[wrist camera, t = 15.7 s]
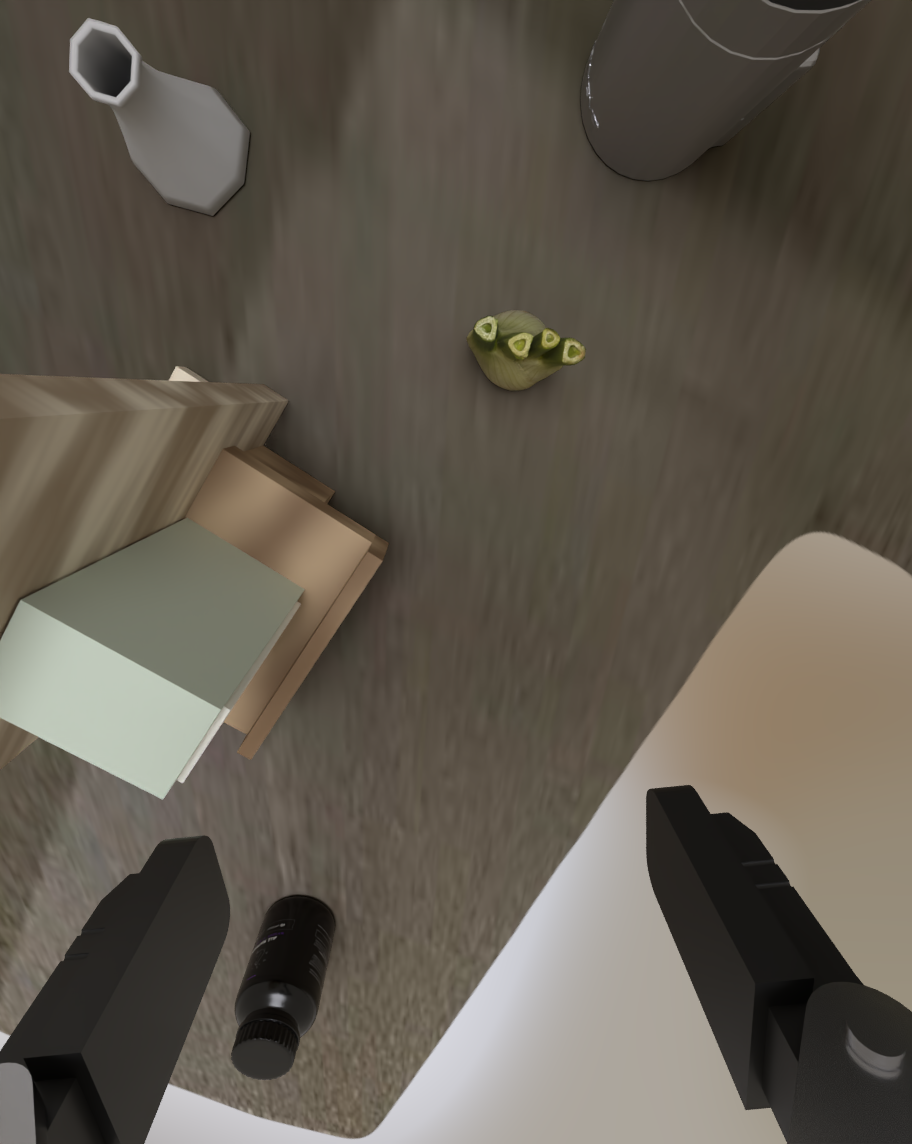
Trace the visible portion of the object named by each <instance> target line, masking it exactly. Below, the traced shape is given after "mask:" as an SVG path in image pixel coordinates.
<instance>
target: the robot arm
mask: <svg viewBox="0 0 912 1144" xmlns="http://www.w3.org/2000/svg"><path fill="white" fill-rule="evenodd" d="M870 1H871V0H614V1H613V3H612V6H611V8H610V10H609V13H608V15H607V17H606V19H605V22H604V24H603V26H602V29H601V31H600V33H599V36H598V38H597V40H596V41H595V43H594V45H593V48H592V51H591V54H590V57H589V59H588V62H587V64H586V67H585V71H584V76H583V80H582V85H581V102H580V103H581V112H582V120H583V124H584V127H585V130H586V134H587V137H588V139H589V141H590V143H591V145H592V146H593V148H594V150H595V152H596V153H597V154H598V156H599V157H600V158H601V159H602V160H603V161H604V162H605V164H606V165H608V166H609V167H610V168H612V169H613V170H615V171H616V172H617V173H619V174H621V175H624V176H626V177H629V178H632V179H637V180H645V181H650V180H658V179H664V178H666V177H669V176H672V175H675V174H677V173H679V172H680V171H682V170H683V169H685V168H687V167H688V166H690V165H691V164H692V163H693V162H694V161H696V160H697V159H698V158H699V157H700V156H701V155H702V154H703V153H704V152H705V151H707V150H708V149H709V148H711V147H714V146H722V145H724V144H725V143H727V142H728V141H729V140H730V139H731V138H732V137H733V136H735V135H736V134H737V133H738V132H739V131H740V130H741V129H743V128H744V127H745V126H746V125H747V124H748V123H749V122H751V121H752V120H753V119H754V118H755V117H756V116H757V115H759V114H760V113H761V112H762V111H763V110H764V109H765V108H767V107H768V106H769V105H770V104H771V103H772V102H773V101H775V100H776V99H777V98H778V97H779V96H780V95H781V94H782V93H784V92H785V91H786V90H787V89H788V88H789V87H790V86H792V85H793V84H794V83H795V82H796V81H797V80H798V79H800V78H801V77H802V76H803V75H804V74H805V73H806V72H808V71H809V70H810V69H811V68H812V67H813V65H814V64H815V63H816V61H817V59H818V56H819V51H820V47H821V46H822V45H823V44H824V43H825V42H826V41H828V40H829V39H830V38H831V37H832V36H833V35H834V34H835V33H836V32H837V31H839V30H840V29H841V28H842V27H843V26H844V25H845V24H846V23H847V22H848V21H849V20H850V19H851V18H852V17H853V16H854V15H856V14H857V13H858V12H859V11H860V10H861V9H862V8H863V7H864V6H865V5H867V4H868V3H869V2H870ZM646 852H647V853H646V854H647V865H648V871H649V876H650V880H651V884H652V887H653V890H654V893H655V895H656V898H657V901H658V903H659V905H660V908H661V910H662V913H663V915H664V917H665V920H666V922H667V924H668V927H669V929H670V932H671V934H672V936H673V939H674V941H675V943H676V946H677V948H678V951H679V953H680V955H681V958H682V960H683V962H684V965H685V967H686V970H687V972H688V974H689V976H690V979H691V981H692V984H693V986H694V989H695V991H696V993H697V996H698V998H699V1000H700V1003H701V1005H702V1008H703V1010H704V1012H705V1015H706V1017H707V1019H708V1022H709V1024H710V1026H711V1029H712V1031H713V1034H714V1036H715V1038H716V1040H717V1043H718V1045H719V1048H720V1050H721V1053H722V1055H723V1057H724V1060H725V1062H726V1064H727V1067H728V1069H729V1072H730V1074H731V1076H732V1079H733V1081H734V1083H735V1086H736V1088H737V1091H738V1093H739V1095H740V1098H741V1100H742V1102H743V1105H744V1107H745V1109H746V1110H751V1109H761V1108H771V1109H772V1111H773V1113H774V1115H775V1118H776V1120H777V1122H778V1124H779V1126H780V1128H781V1131H782V1133H783V1135H784V1137H785V1139H786V1141H787V1144H912V1012H911V1011H910V1010H909V1009H907V1008H906V1007H905V1006H903V1005H902V1004H901V1003H899V1002H898V1001H896V1000H894V999H893V998H891V997H890V996H888V995H886V994H884V993H882V992H880V991H878V990H876V989H873V988H870V987H867V986H865V985H863V984H862V982H861V981H860V980H859V978H858V977H857V976H856V975H855V973H854V972H853V971H852V969H851V968H850V966H849V965H848V964H847V962H846V961H845V959H844V958H843V956H842V955H841V954H840V952H839V951H838V949H837V948H836V947H835V945H834V944H833V942H832V941H831V940H830V938H829V937H828V935H827V934H826V932H825V931H824V930H823V928H822V927H821V925H820V924H819V922H818V921H817V920H816V918H815V917H814V915H813V914H812V913H811V911H810V910H809V908H808V907H807V906H806V904H805V903H804V901H803V900H802V898H801V897H800V896H799V894H798V893H797V891H796V890H795V889H794V887H791V886H790V884H789V880H788V879H787V877H786V876H785V874H784V873H783V872H782V870H781V869H780V868H779V866H778V865H777V864H775V863H774V859H773V857H772V856H771V855H770V853H769V852H768V850H767V849H766V848H765V846H764V845H763V844H762V842H761V840H760V839H759V838H758V836H757V835H756V833H754V832H753V831H752V830H751V829H749V828H748V827H747V826H745V825H744V824H742V823H741V822H740V821H739V820H737V819H736V818H735V817H733V816H732V815H731V814H729V813H718V814H710V812H709V811H708V809H707V808H706V806H705V805H704V803H703V801H702V800H701V798H700V796H699V795H698V793H697V792H696V791H695V789H694V788H693V787H692V786H691V785H684V786H674V787H664V788H655V789H649V790H648V791H647V796H646ZM229 919H230V904H229V898H228V895H227V891H226V888H225V884H224V881H223V877H222V874H221V870H220V867H219V863H218V860H217V857H216V853H215V850H214V846H213V843H212V841H211V839H210V838H209V837H208V836H195V837H185V838H175V839H166V840H163V841H161V842H160V843H159V844H158V845H157V847H156V848H155V850H154V851H153V853H152V854H151V856H150V857H149V859H148V861H147V862H146V864H145V865H144V867H143V869H142V870H141V872H140V873H138V874H130V875H128V876H127V877H126V878H125V879H124V880H123V881H122V882H121V883H120V884H119V885H118V886H117V887H115V888H114V889H113V890H112V891H111V892H110V893H109V894H108V895H107V896H106V897H105V898H103V899H102V900H101V902H100V903H99V905H98V906H97V908H96V909H95V911H94V912H93V914H92V915H91V917H90V918H89V920H88V921H87V923H86V924H85V926H84V927H83V929H82V933H81V936H77V938H76V939H75V940H74V942H73V943H72V945H71V946H70V948H69V949H68V951H67V952H66V954H65V959H64V961H61V962H60V963H59V964H58V966H57V967H56V969H55V970H54V972H53V973H52V975H51V976H50V978H49V979H48V981H47V982H46V984H45V985H44V987H43V988H42V990H41V991H40V993H39V994H38V996H37V997H36V999H35V1000H34V1002H33V1003H32V1005H31V1006H30V1008H29V1009H28V1011H27V1012H26V1014H25V1015H24V1016H23V1018H22V1019H21V1021H20V1022H19V1024H18V1025H17V1027H16V1028H15V1030H14V1031H13V1033H12V1034H11V1036H10V1037H9V1039H8V1040H7V1042H6V1043H5V1045H4V1046H3V1048H2V1049H1V1051H0V1144H144V1143H145V1140H146V1138H147V1135H148V1132H149V1130H150V1127H151V1125H152V1123H153V1120H154V1118H155V1115H156V1113H157V1110H158V1107H159V1105H160V1102H161V1100H162V1097H163V1095H164V1092H165V1090H166V1087H167V1085H168V1082H169V1080H170V1077H171V1075H172V1072H173V1070H174V1067H175V1065H176V1062H177V1060H178V1057H179V1055H180V1052H181V1050H182V1047H183V1045H184V1042H185V1040H186V1037H187V1034H188V1032H189V1029H190V1027H191V1024H192V1022H193V1019H194V1017H195V1014H196V1012H197V1009H198V1007H199V1004H200V1002H201V999H202V997H203V994H204V992H205V989H206V987H207V984H208V982H209V979H210V977H211V974H212V972H213V969H214V967H215V964H216V962H217V959H218V956H219V954H220V951H221V949H222V946H223V944H224V941H225V938H226V935H227V932H228V927H229Z"/></svg>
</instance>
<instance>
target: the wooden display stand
mask: <svg viewBox="0 0 912 1144" xmlns="http://www.w3.org/2000/svg"><path fill="white" fill-rule="evenodd" d="M287 403H288V400H287V399H285V398H284V397H282V396H281V395H279V394H278V393H276V392H274V391H273V390H271V389H270V388H268V387H267V386H265V385H264V384H242V383H217V382H208V381H207V380H205V379H204V378H202V377H200V376H199V375H197V374H196V373H194V372H193V371H191V370H190V369H188V368H187V367H180V366H176V368H175V370H174V372H173V374H172V376H171V378H170V379H169V381H165V380H140V379H114V378H88V377H62V376H37V375H11V374H0V640H1V638H2V636H3V634H4V632H5V630H6V628H7V626H8V624H9V622H10V620H11V618H12V616H13V614H14V612H15V610H16V608H17V606H18V604H19V602H20V600H21V599H23V598H25V597H27V596H30V595H32V594H34V593H36V592H38V591H40V590H42V589H44V588H46V587H48V586H50V585H52V584H54V583H56V582H58V581H60V580H62V579H64V578H66V577H68V576H70V575H72V574H74V573H76V572H78V571H80V570H82V569H84V568H86V567H88V566H90V565H92V564H94V563H96V562H98V561H100V560H102V559H104V558H106V557H109V556H111V555H113V554H115V553H117V552H119V551H121V550H123V549H125V548H127V547H129V546H131V545H133V544H135V543H137V542H139V541H141V540H143V539H145V538H147V537H149V536H151V535H153V534H155V533H157V532H159V531H161V530H163V529H165V528H167V527H169V526H171V525H173V524H175V523H177V522H179V521H181V520H183V519H185V518H189V519H190V520H192V521H194V522H195V523H197V524H199V525H200V526H202V527H204V528H205V529H207V530H208V531H210V532H212V533H213V534H215V535H217V536H218V537H220V538H222V539H223V540H225V541H226V542H228V543H230V544H231V545H233V546H235V547H236V548H238V549H240V550H241V551H243V552H244V553H246V554H248V555H249V556H251V557H253V558H254V559H256V560H258V561H259V562H261V563H262V564H264V565H266V566H267V567H269V568H271V569H272V570H274V571H276V572H277V573H279V574H280V575H282V576H284V577H285V578H287V579H289V580H290V581H292V582H294V583H295V584H297V585H298V586H300V587H302V588H303V589H305V590H304V592H303V593H302V595H301V596H300V598H299V599H298V601H297V602H299V603H301V605H300V607H299V608H298V610H297V611H296V613H295V614H294V616H293V617H292V619H291V620H290V622H289V623H288V625H287V626H286V628H285V630H284V631H283V633H282V634H281V636H280V637H279V639H278V640H277V642H276V643H275V645H274V646H273V648H272V649H271V651H270V652H269V654H268V656H267V657H266V659H265V660H264V662H263V663H262V665H261V666H260V668H259V669H258V671H257V672H256V674H255V675H254V677H253V678H252V680H251V681H250V683H249V684H248V686H247V687H246V689H245V690H244V692H243V693H242V695H241V696H240V698H239V699H238V701H237V702H236V704H235V705H234V707H233V708H232V710H231V711H230V713H229V714H228V716H227V717H226V719H225V720H224V723H226V724H228V725H230V726H232V727H234V728H236V729H238V730H239V731H241V732H243V733H245V734H247V736H246V737H245V739H244V741H243V743H242V744H241V746H240V748H239V750H238V751H237V753H239V754H241V755H243V756H244V757H246V758H248V759H250V760H251V759H252V757H253V756H254V754H255V753H256V751H257V750H258V748H259V747H260V745H261V744H262V742H263V741H264V739H265V738H266V736H267V735H268V733H269V732H270V730H271V729H272V727H273V726H274V724H275V723H276V721H277V720H278V718H279V717H280V715H281V714H282V712H283V711H284V709H285V708H286V706H287V705H288V703H289V702H290V700H291V699H292V697H293V695H294V694H295V692H296V691H297V689H298V688H299V686H300V685H301V683H302V682H303V680H304V679H305V677H306V676H307V674H308V673H309V671H310V670H311V668H312V667H313V665H314V664H315V662H316V661H317V659H318V658H319V656H320V655H321V653H322V652H323V650H324V649H325V647H326V646H327V644H328V643H329V641H330V640H331V638H332V637H333V635H334V634H335V632H336V631H337V629H338V628H339V626H340V625H341V623H342V622H343V620H344V619H345V617H346V616H347V614H348V613H349V611H350V610H351V608H352V607H353V605H354V604H355V602H356V601H357V599H358V597H359V596H360V594H361V593H362V591H363V590H364V588H365V587H366V585H367V584H368V582H369V581H370V579H371V578H372V576H373V575H374V573H375V572H376V570H377V569H378V567H379V566H380V564H381V563H382V561H383V559H384V556H385V553H386V550H387V548H388V545H389V543H388V542H386V541H385V540H383V539H382V538H380V537H378V536H377V535H375V534H374V533H372V532H370V531H369V530H367V529H366V528H364V527H363V526H361V525H359V524H358V523H356V522H355V521H353V520H351V519H350V518H348V517H347V516H345V515H344V514H342V513H340V512H339V511H337V510H336V509H334V508H333V507H331V506H329V505H328V502H329V501H330V499H331V497H332V496H333V494H334V493H335V491H334V490H332V489H331V488H329V487H327V486H326V485H324V484H323V483H321V482H320V481H318V480H316V479H315V478H313V477H312V476H310V475H309V474H307V473H305V472H304V471H302V470H301V469H299V468H298V467H296V466H295V465H293V464H291V463H290V462H288V461H287V460H285V459H284V458H282V457H280V456H279V455H277V454H276V453H274V452H273V451H271V450H270V449H268V448H266V447H265V446H264V444H265V442H266V440H267V438H268V437H269V435H270V433H271V431H272V430H273V428H274V426H275V424H276V423H277V421H278V419H279V417H280V415H281V414H282V412H283V410H284V408H285V407H286V405H287ZM37 738H38V736H36V735H34V734H32V733H30V732H28V731H26V730H24V729H22V728H20V727H18V726H16V725H14V724H12V723H10V722H8V721H6V720H4V719H2V718H0V770H1V769H2V768H3V767H4V766H5V765H7V764H8V763H9V762H10V761H11V760H12V759H14V758H15V757H16V756H17V755H18V754H19V753H21V752H22V751H23V750H24V749H25V748H26V747H28V746H29V745H30V744H31V743H32V742H33V741H35V740H36V739H37Z"/></svg>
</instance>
